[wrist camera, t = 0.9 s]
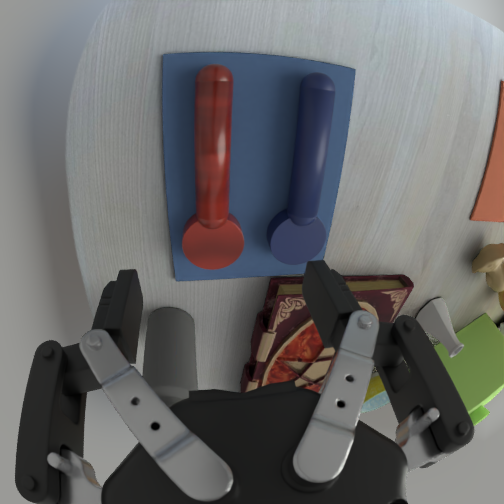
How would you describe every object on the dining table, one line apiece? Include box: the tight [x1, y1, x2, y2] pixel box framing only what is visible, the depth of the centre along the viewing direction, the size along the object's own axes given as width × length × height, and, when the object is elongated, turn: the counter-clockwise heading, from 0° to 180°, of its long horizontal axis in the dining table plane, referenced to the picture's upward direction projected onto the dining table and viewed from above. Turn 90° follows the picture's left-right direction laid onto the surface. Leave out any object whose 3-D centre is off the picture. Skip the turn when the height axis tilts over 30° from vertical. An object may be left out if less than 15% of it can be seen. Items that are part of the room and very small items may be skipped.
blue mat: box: [162, 52, 355, 281], centre depth 24 cm, size 22×16×1 cm
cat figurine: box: [472, 243, 504, 292], centre depth 36 cm, size 8×7×12 cm
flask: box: [416, 298, 464, 357], centre depth 39 cm, size 7×7×10 cm
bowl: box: [361, 372, 390, 413], centre depth 51 cm, size 11×12×6 cm
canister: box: [409, 313, 504, 426], centre depth 50 cm, size 25×21×23 cm
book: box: [240, 275, 414, 393], centre depth 39 cm, size 28×21×5 cm
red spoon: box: [182, 64, 244, 270], centre depth 22 cm, size 18×6×3 cm, turn 177°
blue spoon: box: [266, 72, 335, 265], centre depth 23 cm, size 18×6×3 cm, turn 177°
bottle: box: [142, 307, 198, 408], centre depth 27 cm, size 6×6×15 cm
